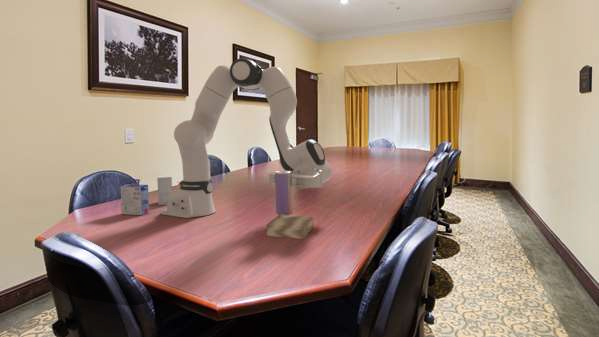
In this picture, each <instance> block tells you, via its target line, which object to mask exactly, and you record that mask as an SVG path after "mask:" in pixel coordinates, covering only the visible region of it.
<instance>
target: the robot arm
mask: <svg viewBox="0 0 599 337" xmlns="http://www.w3.org/2000/svg"><path fill="white" fill-rule="evenodd" d="M238 88H240V89H243V90H248V91H257V90H259V89H260V90H262V92H263V94H264V95H265V96H264V97H265V98H266V100H267V102H268V104H269V105H268V106H269V110H270V111H269V113H270V115H269V118H268V120H269V126H270V129H271V132H272V135H273V138H274V142H275V145H276V148H277V151H278V156H279V162H280V166H281V168H282V169H283V171H291V174H292V187H294V186H295V187H296V188H298V189H299V190H306V189H312V188H315V189H317V188H318V189H320V188H323V187H324V186H323V185H324V184H325V183H326V182H328V181H329V180H330V179H331V177H332V175H333V167H332V166H331V164H330V163H329V162H328V161H327V160H326V155H325V151H324V149H323V147H322V146H321V144H320V143H319V142H317V141H316V140H313V139H307V140H305V141H303V142H301V143H299V144H298V145H295V146H294V147H292V146H291V143H290V139H289V137H288V136H289V135H288V133H287V129H286V128H287V123H288V121H289V119H290V118H291V116H292V115H293V114H294V113H295V110H296V108H297V105H298V99H297V95H296V93H295V91H294V89H293V86H292V84H291V82H290V81H289V79H288V77H287V76H286V74H285V73H284V72H283V69H281V68H280V67H278V66H269V67H267V68H266V69H263V68H262V67H261V66H260V65H259V64H258V63H257V62H255V61H253V60H252V59H250V58H245V57H241V58H240V57H239V58H236V60H234V61H233V62H232V63H231V65H230V67H229V66H227V65H218V66H216V67H215V68H214V70H213V71H212V73H211V74H210V75H209V76H208V79H207V80H206V81H205V83H204V85H203V88H202V89H201V91H200V93H199V94H198V97H197V98H196V101H195V105H194V110H193V114H192V117H191V119H190V120H189V119H187V120H183V121H181V123H178V124H177V125H176V126H175V128H174V131H173V138H174V140H175V142H176V143H177V146H178V150H179V153H180V157H181V163H182V165H181V166H182V177H183V179H182V180H181V181H178V182H177V186H180V187H179V189H178V190H177V191H175V192H174V193H172V196H171V197H170V198H169V199H168V201H167V205H166V207H165V208H164V209H162V210H161V212H160V213H161V214H160V215H164V216H171V217H176V218H177V217H178V218H184V219H190V218H194V217H195V218H196V217H202V216H203V217H204V216H210V215H213V214H214V213H216V208H215V204H214V200H213V199H214V198H213V194H212V192H213V181H212V178H211V161H210V159H209V157H208V151H207V146H206V145H208V143H210V142H211V141H212V139H213V137H214V133H215V131H216V128H217V125H218V123H219V120H220V117H221V115H222V113H223V111H224V109H225V107H226V105H227V104H228V102H229V100H230V98H231V96H232V95H233V92H234V91H235V90H236V89H238ZM268 182H269V183H270V184H275V172H270V173H269V174H268Z"/></svg>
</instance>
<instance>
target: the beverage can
mask: <svg viewBox="0 0 599 337" xmlns="http://www.w3.org/2000/svg"><path fill="white" fill-rule="evenodd" d="M274 173H275V183H274V194H275V197H274V199H275V213H276V215H277V216H278V215H281V216H286V215H292V214H293V211H294V210H293V208H294V206H293V186H292V174H291V171H285V170H276V171H274Z"/></svg>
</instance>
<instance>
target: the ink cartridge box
mask: <svg viewBox="0 0 599 337" xmlns="http://www.w3.org/2000/svg"><path fill="white" fill-rule="evenodd" d="M140 181H141V179H139V178H138V179H137V178H135V179H134V178H132V180H131V183H130V184H124V185H121V186H120V200H121V205H120V206H121V214H122V215H129V216H130V215H131V216H133V215H134V216H143V215H146V214H149V213H150V198H149V185H148V184H140Z"/></svg>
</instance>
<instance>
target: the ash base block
mask: <svg viewBox="0 0 599 337" xmlns="http://www.w3.org/2000/svg"><path fill="white" fill-rule="evenodd" d="M313 229H314V217H313V216H304V215H292V214H290V215H286V216H281V215H277V216H276V217H274V218H273V219H271V221H269V222H268V223H266V236H268V237H276V238H278V237H279V238H287V239H300V240H304V239H305V238H306V237H307V236H308V235H309V234H310V232H311V231H312V230H313Z"/></svg>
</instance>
